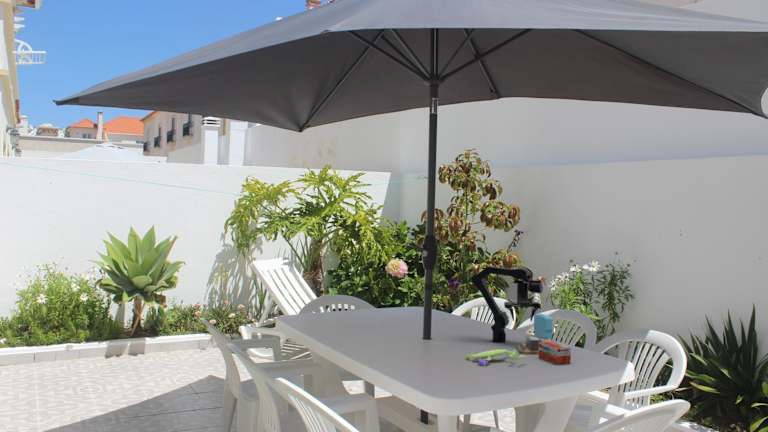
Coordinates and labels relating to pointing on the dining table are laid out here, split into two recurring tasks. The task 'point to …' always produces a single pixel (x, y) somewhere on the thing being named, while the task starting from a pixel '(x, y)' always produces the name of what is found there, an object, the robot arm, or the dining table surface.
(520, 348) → the pin tray
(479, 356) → the figurine
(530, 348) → the drive
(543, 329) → the data package
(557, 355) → the medicine box
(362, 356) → the dining table surface
